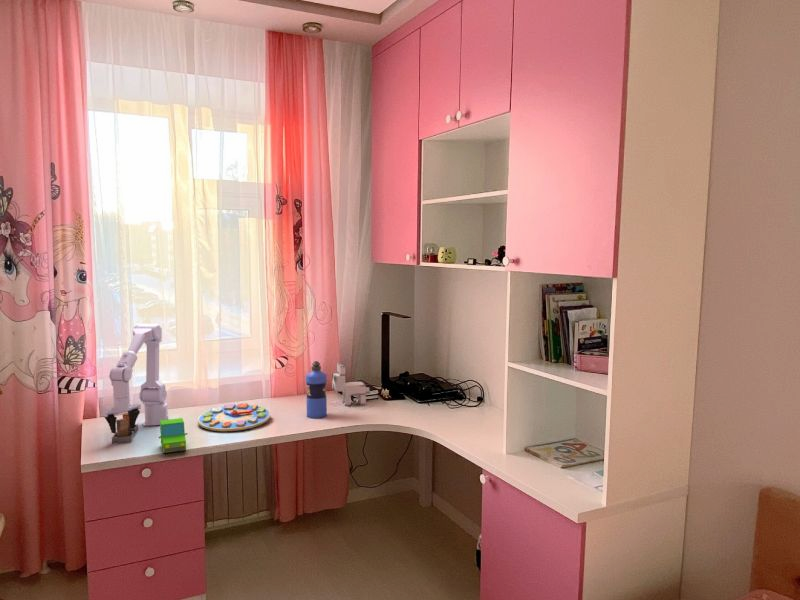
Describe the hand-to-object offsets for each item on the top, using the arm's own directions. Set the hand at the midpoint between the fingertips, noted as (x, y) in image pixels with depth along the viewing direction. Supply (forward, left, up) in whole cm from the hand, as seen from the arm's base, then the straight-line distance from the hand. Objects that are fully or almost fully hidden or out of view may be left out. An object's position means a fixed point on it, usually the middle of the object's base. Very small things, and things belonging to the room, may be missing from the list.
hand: (123, 430), depth 241 cm
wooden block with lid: (0, 0, -3) cm, 3 cm away
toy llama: (-97, -33, -4) cm, 103 cm away
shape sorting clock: (-42, -15, -5) cm, 45 cm away
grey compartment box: (0, -5, -4) cm, 6 cm away
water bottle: (-78, -16, -4) cm, 80 cm away
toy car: (-20, +16, -4) cm, 26 cm away
